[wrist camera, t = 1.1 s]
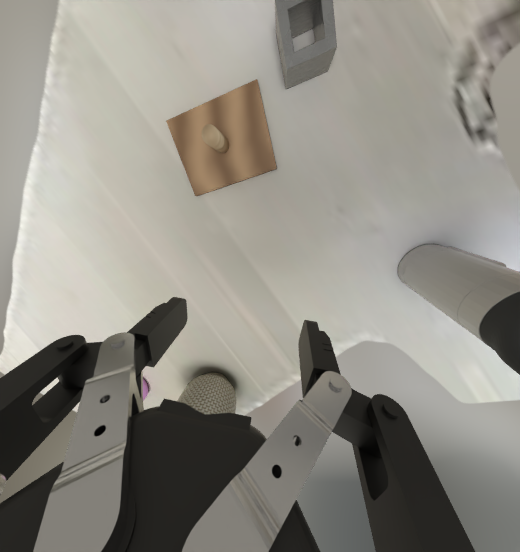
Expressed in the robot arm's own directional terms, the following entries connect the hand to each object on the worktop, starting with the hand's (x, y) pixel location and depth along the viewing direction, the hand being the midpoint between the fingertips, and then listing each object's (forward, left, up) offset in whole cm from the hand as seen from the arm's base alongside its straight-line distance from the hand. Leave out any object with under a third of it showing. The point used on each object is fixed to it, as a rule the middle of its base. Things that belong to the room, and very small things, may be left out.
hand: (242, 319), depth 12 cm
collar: (-11, -24, -28) cm, 38 cm away
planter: (+29, +41, -28) cm, 58 cm away
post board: (+4, -17, -28) cm, 33 cm away
